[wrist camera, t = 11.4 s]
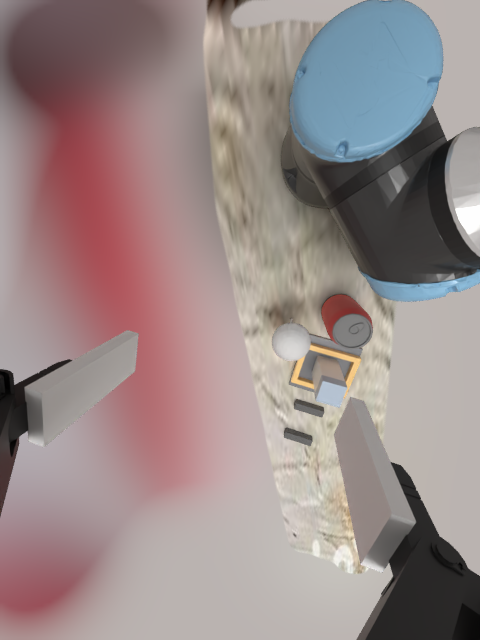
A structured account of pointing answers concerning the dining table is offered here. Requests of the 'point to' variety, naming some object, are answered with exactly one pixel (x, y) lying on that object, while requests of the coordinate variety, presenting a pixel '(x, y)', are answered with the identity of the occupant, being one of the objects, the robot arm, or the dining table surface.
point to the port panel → (328, 349)
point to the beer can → (346, 322)
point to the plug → (328, 381)
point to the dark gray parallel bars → (308, 409)
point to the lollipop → (291, 341)
